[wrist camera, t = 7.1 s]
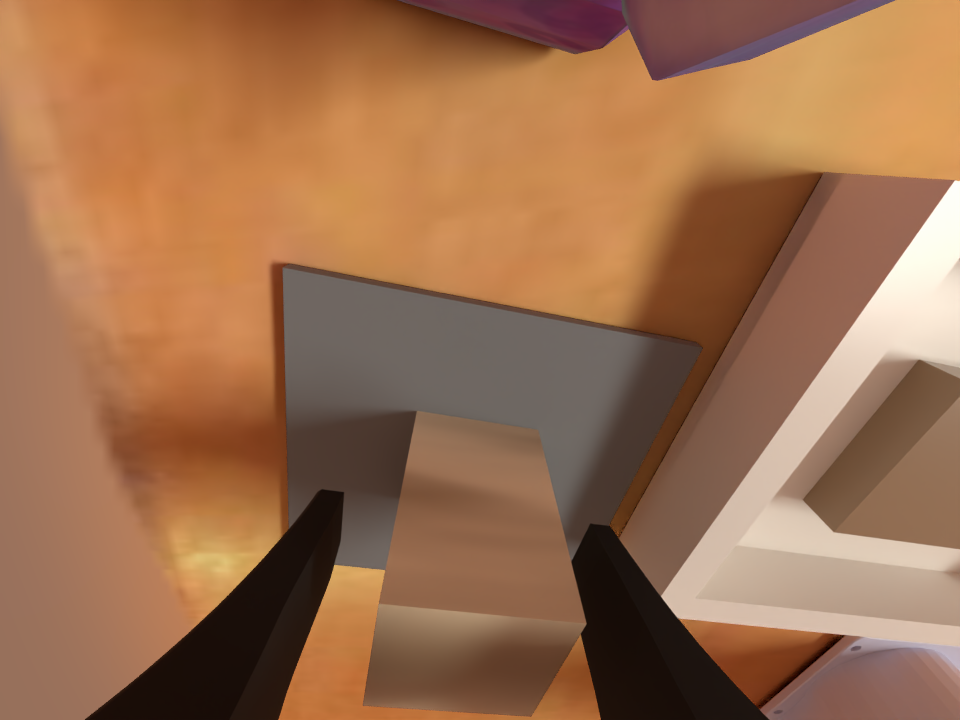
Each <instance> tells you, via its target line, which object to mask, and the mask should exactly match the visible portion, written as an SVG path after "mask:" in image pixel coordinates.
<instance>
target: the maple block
mask: <svg viewBox="0 0 960 720" xmlns="http://www.w3.org/2000/svg"><path fill="white" fill-rule="evenodd" d="M586 624H587V623H586V619H585V615H584V611H583V607H582V603H581V599H580V595H579V591H578V587H577V583H576V579H575V575H574V571H573V567H572V563H571V559H570V555H569V551H568V547H567V543H566V539H565V535H564V531H563V527H562V523H561V519H560V515H559V511H558V507H557V503H556V499H555V495H554V491H553V487H552V483H551V479H550V475H549V471H548V467H547V463H546V459H545V455H544V451H543V447H542V443H541V439H540V435H539V431H538V430H536V429H530V428H523V427H517V426H511V425H504V424H498V423H492V422H485V421H479V420H473V419H466V418H460V417H454V416H447V415H441V414H434V413H428V412H422V411H417V413H416V418H415V423H414V428H413V433H412V438H411V444H410V449H409V454H408V459H407V464H406V469H405V474H404V479H403V484H402V489H401V494H400V499H399V504H398V509H397V514H396V519H395V524H394V529H393V535H392V540H391V545H390V550H389V555H388V560H387V565H386V570H385V575H384V580H383V585H382V590H381V595H380V600H379V606H378V612H377V618H376V625H375V631H374V638H373V644H372V650H371V657H370V663H369V669H368V676H367V682H366V688H365V695H364V701H363V706H375V707H391V708H406V709H422V710H437V711H452V712H468V713H483V714H499V715H514V716H530V717H531V716H532V714H533V713H534V711H535V709H536V708H537V706H538V704H539V703H540V701H541V699H542V698H543V696H544V694H545V693H546V691H547V689H548V688H549V686H550V684H551V683H552V681H553V679H554V678H555V676H556V674H557V673H558V671H559V669H560V668H561V666H562V664H563V663H564V661H565V659H566V658H567V656H568V654H569V653H570V651H571V649H572V647H573V646H574V644H575V642H576V641H577V639H578V637H579V636H580V634H581V632H582V631H583V629H584V627H585V626H586Z"/></svg>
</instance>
